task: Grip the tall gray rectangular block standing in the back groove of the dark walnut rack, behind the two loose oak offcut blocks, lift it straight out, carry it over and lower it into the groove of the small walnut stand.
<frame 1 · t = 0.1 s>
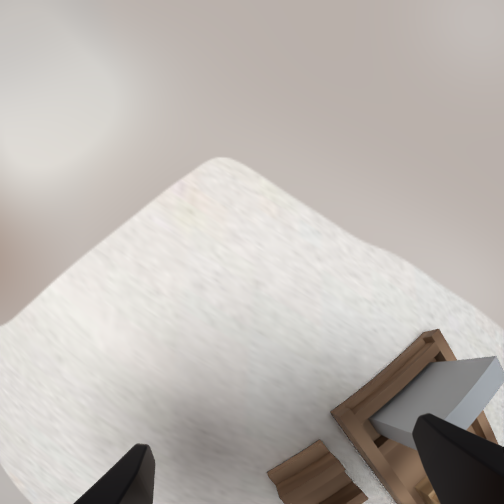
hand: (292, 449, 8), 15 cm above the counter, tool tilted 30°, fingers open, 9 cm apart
gray rectangular block: (403, 397, 21), point 1 cm above the counter, touching rack
offcut a: (448, 472, 19), point 1 cm above the counter, touching offcut b, rack
stand: (315, 484, 20), on the counter
rack: (421, 434, 21), on the counter
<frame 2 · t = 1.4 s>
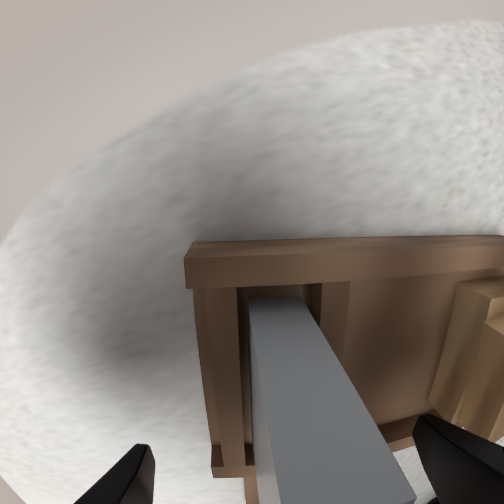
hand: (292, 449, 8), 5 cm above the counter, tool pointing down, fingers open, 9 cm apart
gray rectangular block: (273, 373, 12), point 1 cm above the counter, touching rack
offcut b: (496, 364, 11), point 3 cm above the counter, touching offcut a
offcut a: (469, 340, 13), point 1 cm above the counter, touching offcut b, rack
stand: (299, 479, 16), on the counter
rack: (372, 350, 14), on the counter
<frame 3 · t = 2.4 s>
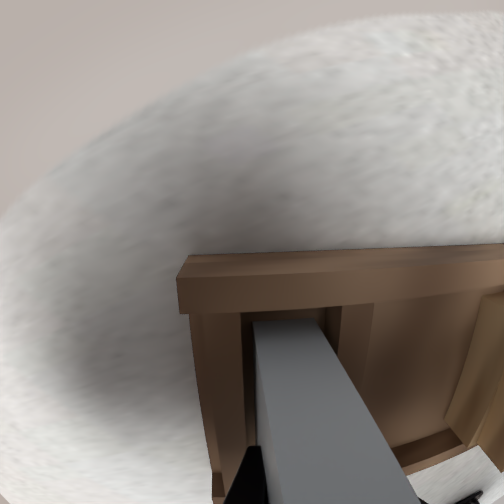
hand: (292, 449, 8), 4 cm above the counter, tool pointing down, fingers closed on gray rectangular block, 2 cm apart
gray rectangular block: (281, 402, 11), point 1 cm above the counter, touching gripper, rack
offcut a: (490, 356, 11), point 1 cm above the counter, touching offcut b, rack
rack: (389, 370, 12), on the counter
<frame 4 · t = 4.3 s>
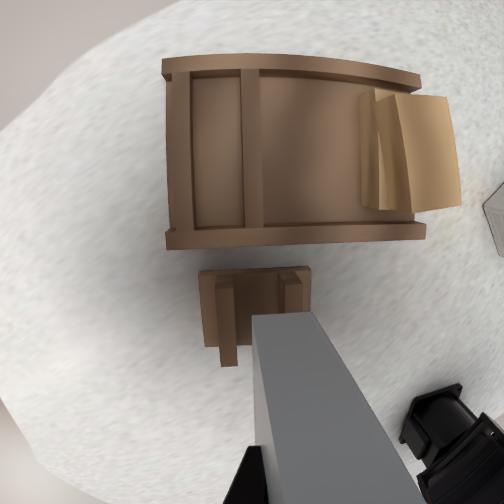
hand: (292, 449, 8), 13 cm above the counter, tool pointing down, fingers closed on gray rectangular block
gray rectangular block: (280, 396, 11), point 10 cm above the counter, touching gripper
offcut b: (407, 153, 16), point 3 cm above the counter, touching offcut a
offcut a: (387, 152, 18), point 1 cm above the counter, touching offcut b, rack
stand: (255, 304, 21), on the counter
rack: (298, 149, 19), on the counter
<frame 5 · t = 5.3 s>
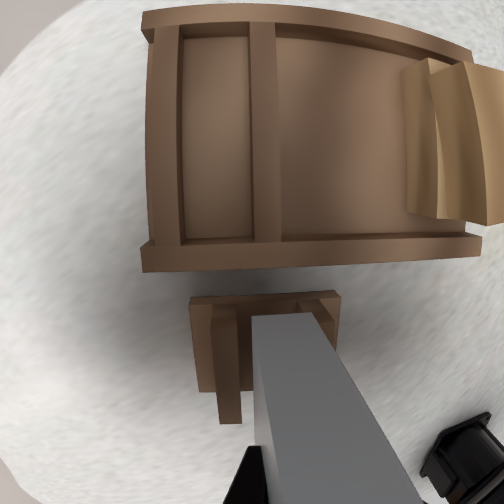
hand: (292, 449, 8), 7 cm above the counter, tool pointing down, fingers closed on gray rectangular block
gray rectangular block: (280, 396, 11), point 5 cm above the counter, touching gripper
offcut b: (469, 145, 10), point 3 cm above the counter, touching offcut a
offcut a: (437, 144, 13), point 1 cm above the counter, touching offcut b, rack
stand: (264, 340, 15), on the counter
rack: (326, 134, 13), on the counter
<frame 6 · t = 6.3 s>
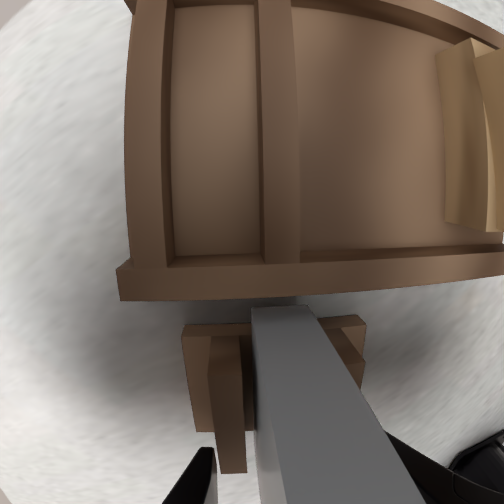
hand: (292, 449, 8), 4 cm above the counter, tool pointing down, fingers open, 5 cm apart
gray rectangular block: (277, 385, 12), point 1 cm above the counter, touching stand
offcut a: (476, 141, 10), point 1 cm above the counter, touching offcut b, rack
stand: (273, 373, 13), on the counter
rack: (350, 125, 11), on the counter
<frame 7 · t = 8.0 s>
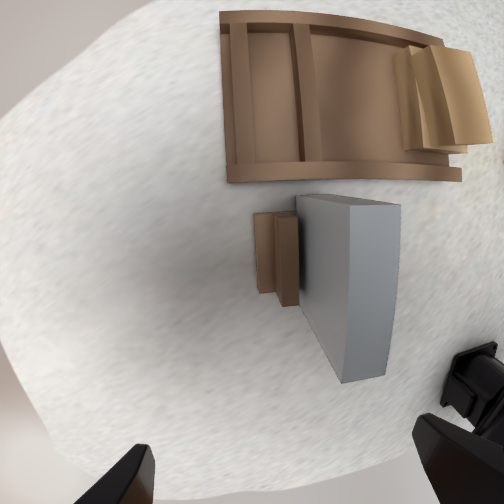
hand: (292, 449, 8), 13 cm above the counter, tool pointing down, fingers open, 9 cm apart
gray rectangular block: (313, 250, 19), point 1 cm above the counter, touching stand
offcut b: (441, 101, 15), point 3 cm above the counter, touching offcut a
offcut a: (421, 105, 18), point 1 cm above the counter, touching offcut b, rack
stand: (308, 248, 20), on the counter
rack: (343, 99, 18), on the counter
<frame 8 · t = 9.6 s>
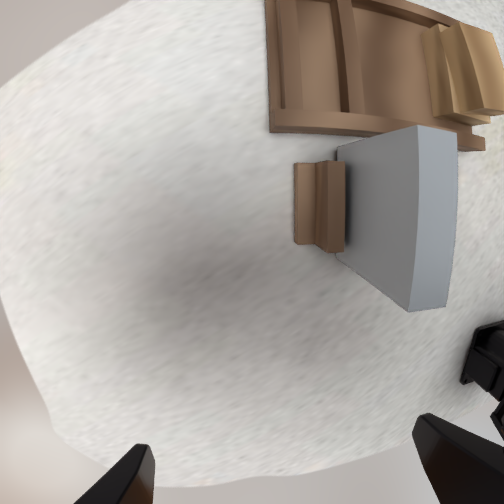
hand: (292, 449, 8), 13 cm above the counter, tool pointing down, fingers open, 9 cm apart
gray rectangular block: (352, 202, 19), point 1 cm above the counter, touching stand
offcut b: (467, 74, 15), point 3 cm above the counter, touching offcut a
offcut a: (447, 79, 17), point 1 cm above the counter, touching offcut b, rack
stand: (346, 202, 20), on the counter
rack: (378, 67, 18), on the counter
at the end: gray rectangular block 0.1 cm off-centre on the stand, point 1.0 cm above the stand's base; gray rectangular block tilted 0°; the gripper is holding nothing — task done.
